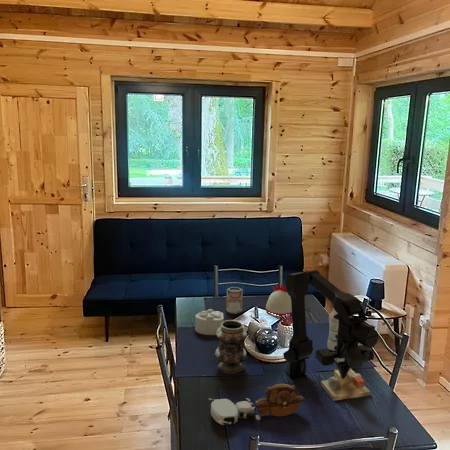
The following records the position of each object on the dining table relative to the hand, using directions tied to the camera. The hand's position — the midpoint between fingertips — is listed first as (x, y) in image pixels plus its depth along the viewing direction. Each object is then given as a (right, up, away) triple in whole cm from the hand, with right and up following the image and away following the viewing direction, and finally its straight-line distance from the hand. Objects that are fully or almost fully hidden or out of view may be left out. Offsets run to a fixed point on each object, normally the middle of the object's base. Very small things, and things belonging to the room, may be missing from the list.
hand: (342, 378), depth 147 cm
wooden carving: (-21, -11, -3) cm, 24 cm away
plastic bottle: (+7, -2, +40) cm, 41 cm away
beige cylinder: (-35, +7, +78) cm, 86 cm away
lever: (+5, -2, +6) cm, 8 cm away
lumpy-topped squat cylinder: (-47, +2, +57) cm, 74 cm away
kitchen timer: (-11, +6, +80) cm, 81 cm away
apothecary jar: (-37, -5, +25) cm, 45 cm away
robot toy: (-37, -11, -5) cm, 39 cm away
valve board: (+4, -8, +11) cm, 14 cm away
